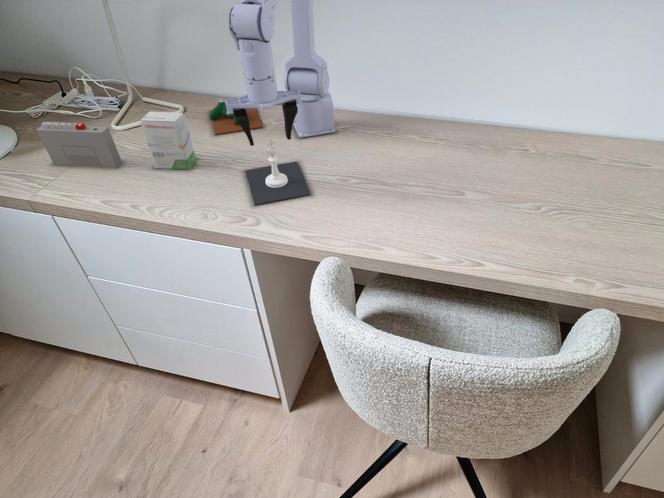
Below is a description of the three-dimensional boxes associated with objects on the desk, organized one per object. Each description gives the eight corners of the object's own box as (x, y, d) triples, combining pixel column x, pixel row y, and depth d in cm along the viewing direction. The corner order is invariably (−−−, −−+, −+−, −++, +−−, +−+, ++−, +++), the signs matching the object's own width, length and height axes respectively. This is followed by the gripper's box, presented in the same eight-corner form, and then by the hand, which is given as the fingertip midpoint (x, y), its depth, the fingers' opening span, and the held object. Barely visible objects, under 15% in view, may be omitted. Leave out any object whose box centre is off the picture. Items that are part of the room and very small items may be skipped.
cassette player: (122, 162, 117) (106, 122, 110) (116, 168, 115) (100, 128, 108) (60, 159, 118) (41, 120, 111) (54, 164, 116) (33, 125, 109)
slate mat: (297, 162, 115) (296, 161, 115) (310, 195, 105) (310, 193, 105) (245, 171, 113) (245, 170, 112) (254, 205, 103) (254, 204, 103)
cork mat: (254, 105, 138) (253, 104, 137) (262, 127, 128) (261, 126, 128) (210, 112, 135) (210, 110, 135) (215, 135, 125) (214, 133, 125)
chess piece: (292, 178, 109) (286, 137, 103) (280, 189, 106) (273, 148, 99) (273, 173, 111) (266, 132, 104) (261, 184, 108) (253, 143, 101)
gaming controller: (244, 129, 130) (250, 107, 130) (236, 124, 127) (243, 101, 127) (215, 123, 133) (221, 101, 133) (207, 118, 129) (213, 96, 129)
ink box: (154, 168, 114) (137, 120, 106) (163, 157, 118) (147, 110, 110) (190, 170, 113) (176, 122, 105) (197, 158, 117) (184, 111, 109)
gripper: (222, 88, 88) (237, 155, 97) (301, 77, 91) (308, 143, 100) (218, 73, 93) (233, 139, 102) (294, 63, 96) (301, 128, 105)
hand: (270, 140), depth 102 cm, fingers open, 7 cm apart
